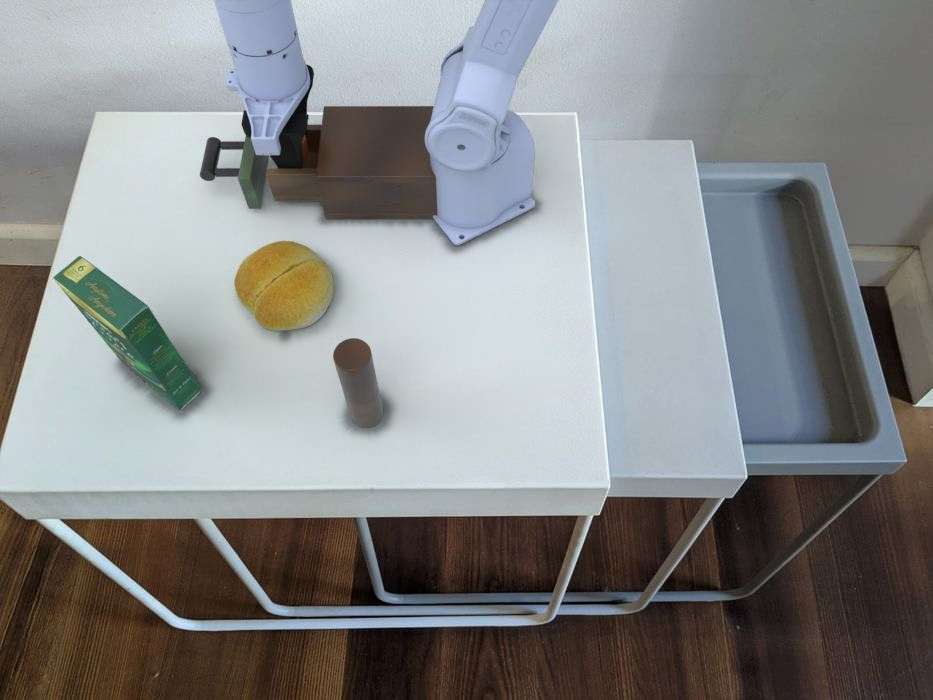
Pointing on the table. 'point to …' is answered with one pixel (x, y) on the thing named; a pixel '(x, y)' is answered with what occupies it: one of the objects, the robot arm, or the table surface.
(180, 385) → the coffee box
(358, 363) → the post stand
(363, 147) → the cabinet
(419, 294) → the table surface
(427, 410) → the table surface
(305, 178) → the drawer
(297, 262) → the bread roll
